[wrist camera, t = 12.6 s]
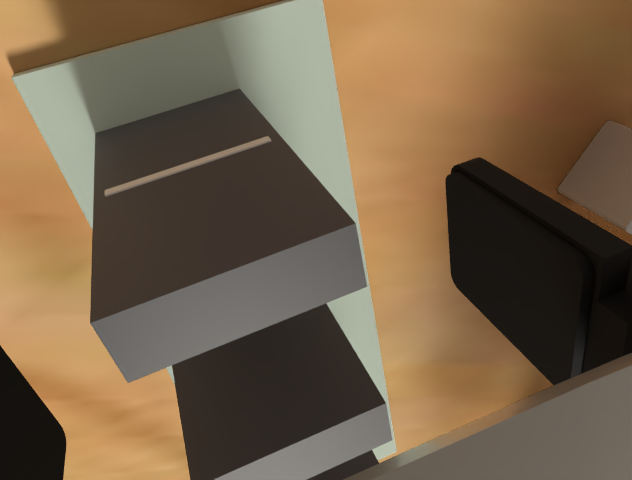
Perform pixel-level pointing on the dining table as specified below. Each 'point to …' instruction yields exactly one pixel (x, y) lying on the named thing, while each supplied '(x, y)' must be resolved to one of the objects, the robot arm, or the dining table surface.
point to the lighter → (604, 176)
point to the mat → (204, 82)
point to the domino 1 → (208, 234)
